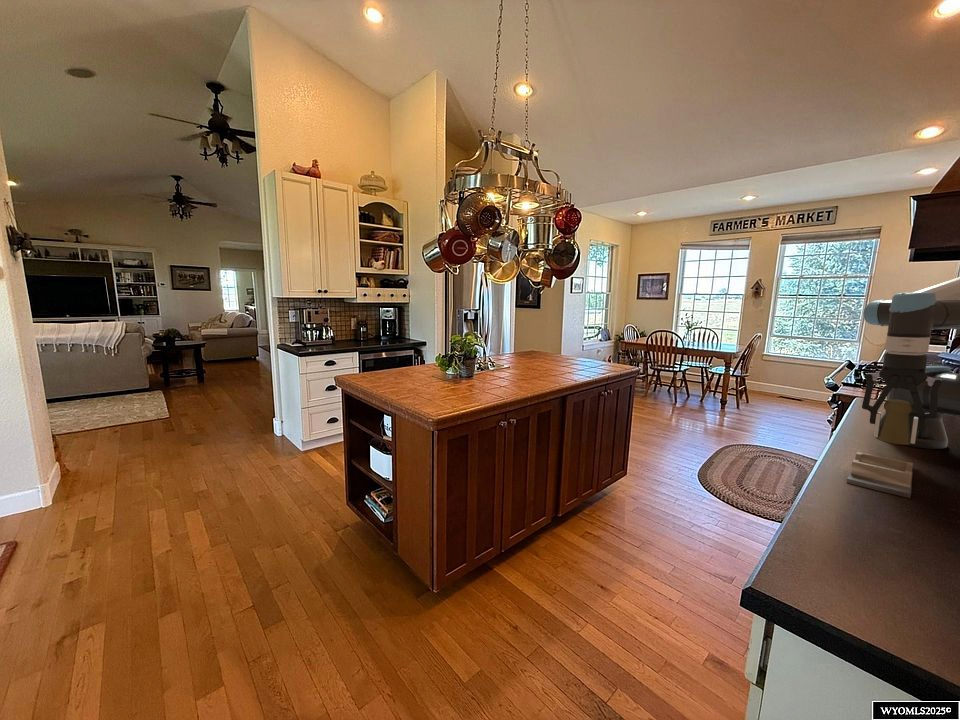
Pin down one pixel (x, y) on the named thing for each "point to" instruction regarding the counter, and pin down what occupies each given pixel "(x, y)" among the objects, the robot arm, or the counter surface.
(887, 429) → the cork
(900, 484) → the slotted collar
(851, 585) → the counter surface
